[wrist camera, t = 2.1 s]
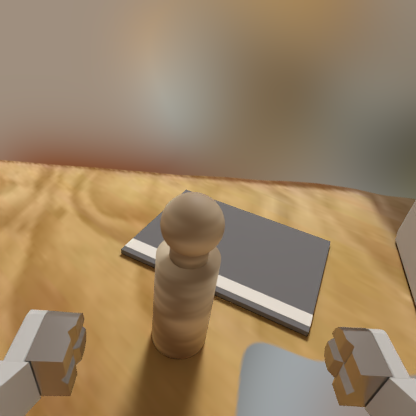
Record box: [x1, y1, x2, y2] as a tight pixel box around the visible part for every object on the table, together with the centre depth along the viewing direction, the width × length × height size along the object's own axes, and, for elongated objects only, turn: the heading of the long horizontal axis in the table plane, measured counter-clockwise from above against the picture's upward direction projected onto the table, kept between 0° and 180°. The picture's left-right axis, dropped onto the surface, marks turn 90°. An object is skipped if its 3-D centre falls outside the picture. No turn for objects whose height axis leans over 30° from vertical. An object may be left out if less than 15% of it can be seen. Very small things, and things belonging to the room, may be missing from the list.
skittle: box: [152, 192, 225, 359], centre depth 27 cm, size 5×5×15 cm
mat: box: [121, 190, 330, 336], centre depth 42 cm, size 22×16×1 cm
